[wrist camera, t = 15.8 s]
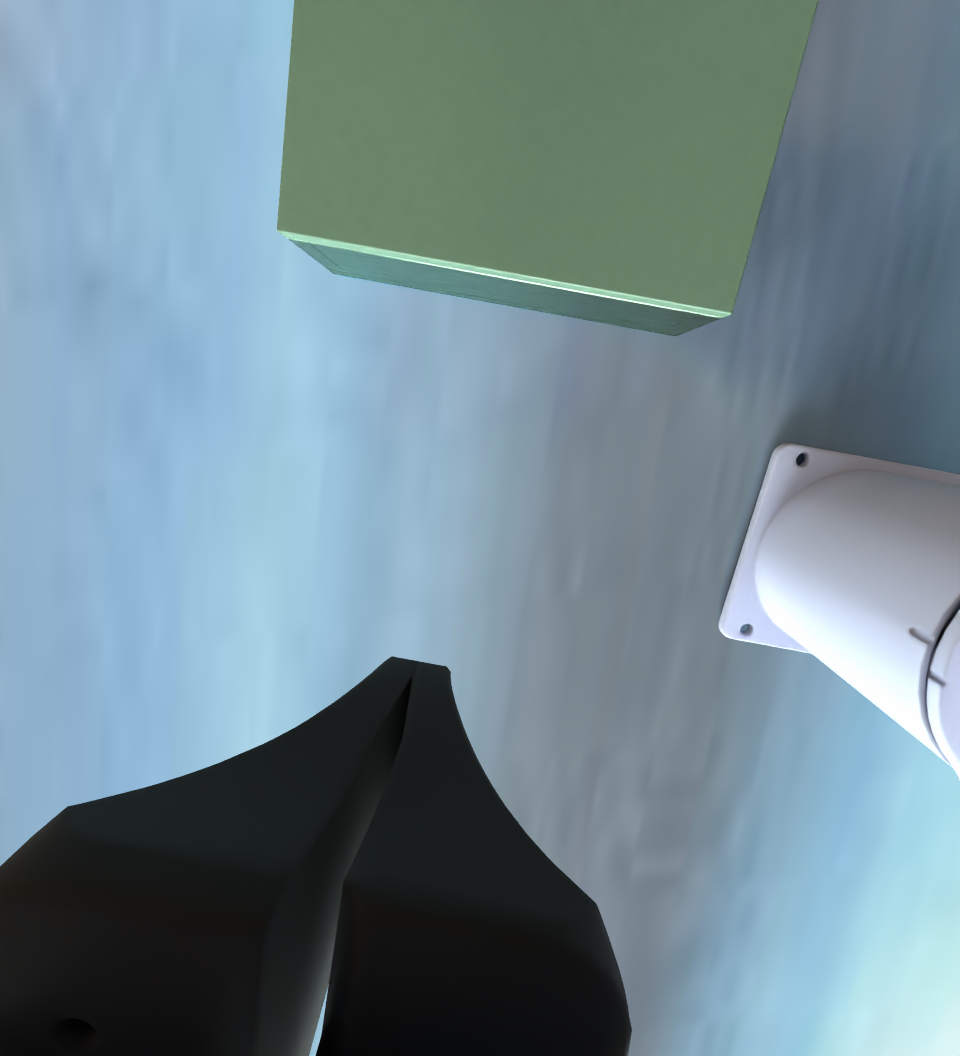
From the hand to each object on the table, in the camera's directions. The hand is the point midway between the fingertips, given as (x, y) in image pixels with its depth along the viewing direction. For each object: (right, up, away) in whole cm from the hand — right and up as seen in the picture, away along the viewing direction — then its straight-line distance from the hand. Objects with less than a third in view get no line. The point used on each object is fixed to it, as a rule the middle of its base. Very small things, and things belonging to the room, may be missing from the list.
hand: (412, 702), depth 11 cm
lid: (+3, +15, +3) cm, 15 cm away
